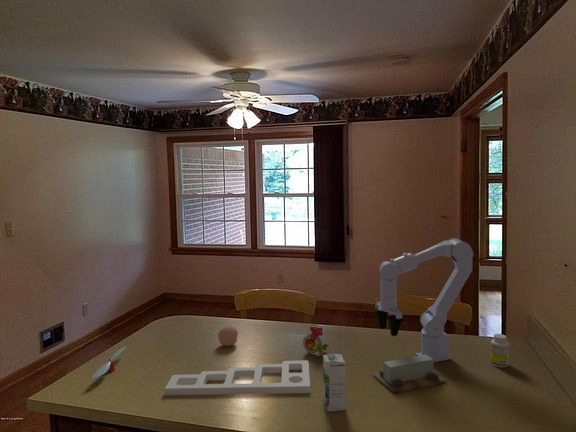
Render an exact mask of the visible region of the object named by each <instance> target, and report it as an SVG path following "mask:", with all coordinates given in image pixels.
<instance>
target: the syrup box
mask: <svg viewBox="0 0 576 432" xmlns="http://www.w3.org/2000/svg"><path fill="white" fill-rule="evenodd" d="M322 362H323V363H322V402H323V406H324V410H325V412H328V413H329V412H341V411H346V361H345V358H344V357H343V355H342V354H339V353H329V354H323V355H322Z"/></svg>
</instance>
